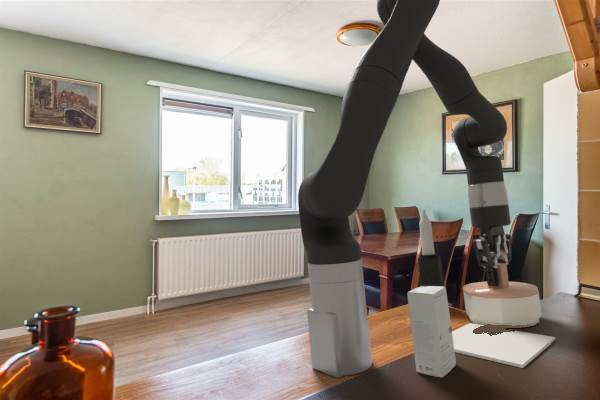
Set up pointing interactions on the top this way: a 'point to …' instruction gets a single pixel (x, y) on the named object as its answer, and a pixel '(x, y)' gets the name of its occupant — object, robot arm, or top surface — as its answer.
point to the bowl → (503, 310)
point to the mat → (500, 345)
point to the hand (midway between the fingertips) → (498, 283)
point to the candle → (429, 256)
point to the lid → (501, 287)
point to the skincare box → (431, 330)
